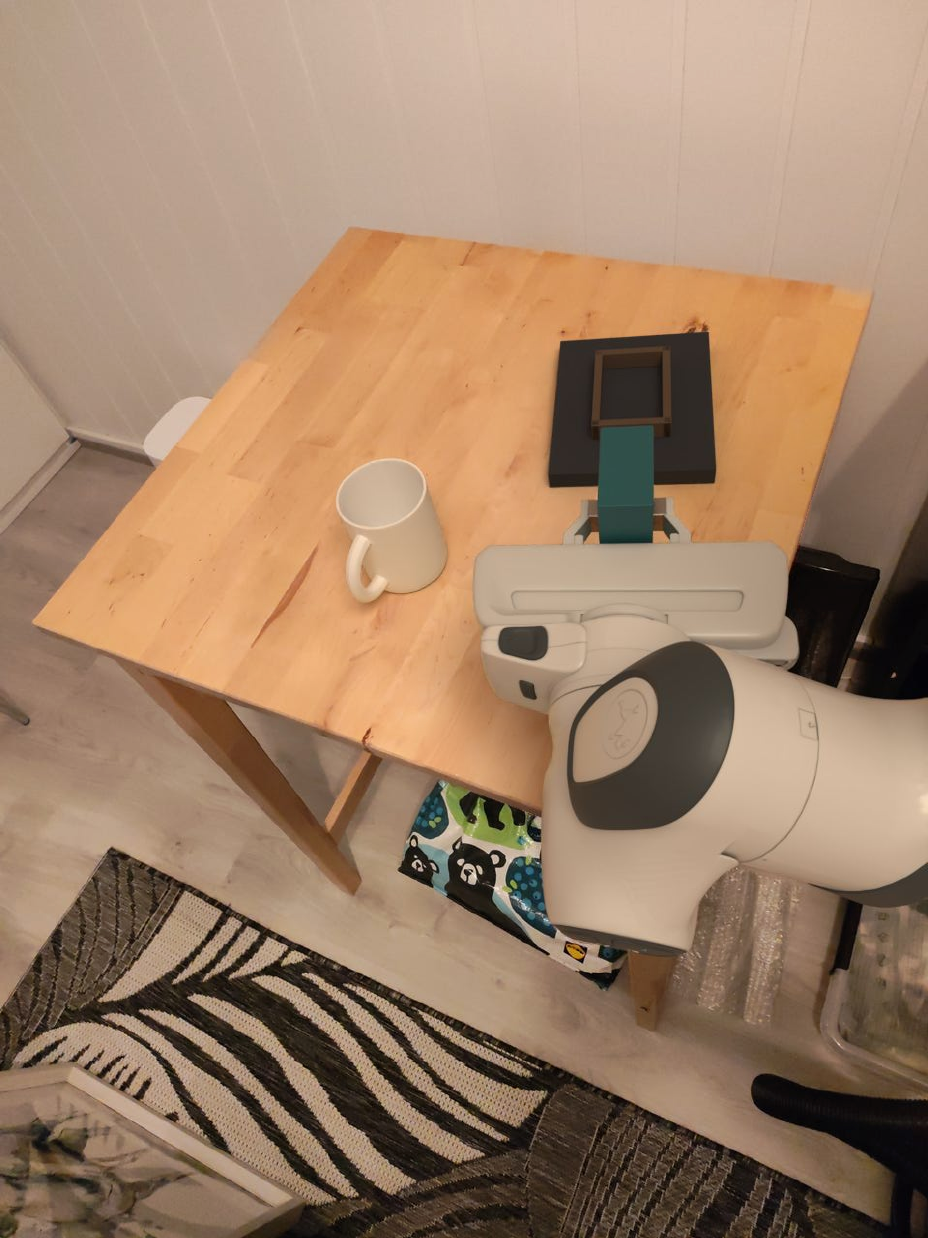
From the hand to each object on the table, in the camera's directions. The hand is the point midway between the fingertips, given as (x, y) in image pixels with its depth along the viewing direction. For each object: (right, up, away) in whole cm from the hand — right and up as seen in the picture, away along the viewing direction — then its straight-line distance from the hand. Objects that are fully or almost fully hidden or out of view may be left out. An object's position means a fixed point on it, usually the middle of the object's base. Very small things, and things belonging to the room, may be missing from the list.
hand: (626, 504), depth 57 cm
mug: (-18, -4, +22) cm, 28 cm away
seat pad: (+6, +13, +28) cm, 32 cm away
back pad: (+1, -4, +4) cm, 6 cm away
